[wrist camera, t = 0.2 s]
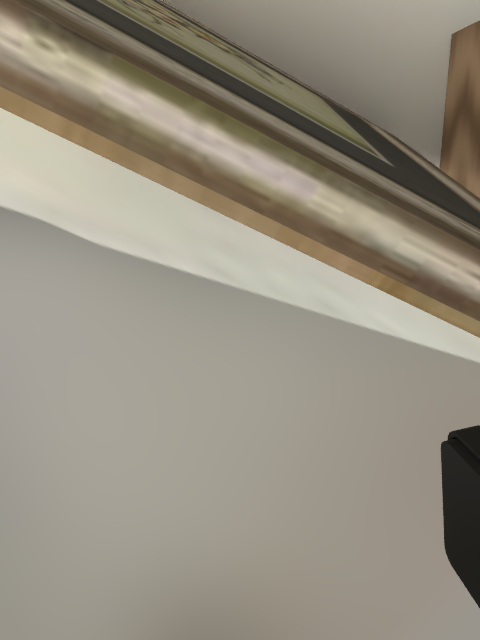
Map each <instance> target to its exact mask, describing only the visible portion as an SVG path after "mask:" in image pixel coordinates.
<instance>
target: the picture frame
mask: <svg viewBox="0 0 480 640" xmlns="http://www.w3.org/2000/svg"><path fill="white" fill-rule="evenodd" d="M0 108H2V109H5V110H7V111H9V112H11V113H13V114H15V115H17V116H19V117H21V118H23V119H25V120H27V121H30V122H32V123H34V124H36V125H38V126H40V127H42V128H44V129H46V130H48V131H50V132H52V133H55V134H57V135H59V136H61V137H63V138H65V139H67V140H69V141H71V142H73V143H75V144H77V145H80V146H82V147H84V148H86V149H88V150H90V151H92V152H94V153H96V154H98V155H100V156H102V157H105V158H107V159H109V160H111V161H113V162H115V163H117V164H119V165H121V166H123V167H125V168H127V169H129V170H132V171H134V172H136V173H138V174H140V175H142V176H144V177H146V178H148V179H150V180H152V181H154V182H157V183H159V184H161V185H163V186H165V187H167V188H169V189H171V190H173V191H175V192H177V193H179V194H182V195H184V196H186V197H188V198H190V199H192V200H194V201H196V202H198V203H200V204H202V205H204V206H207V207H209V208H211V209H213V210H215V211H217V212H219V213H221V214H223V215H225V216H227V217H229V218H232V219H234V220H236V221H238V222H240V223H242V224H244V225H246V226H248V227H250V228H252V229H254V230H257V231H259V232H261V233H263V234H265V235H267V236H269V237H271V238H273V239H275V240H277V241H279V242H282V243H284V244H286V245H288V246H290V247H292V248H294V249H296V250H298V251H300V252H302V253H304V254H307V255H309V256H311V257H313V258H315V259H317V260H319V261H321V262H323V263H325V264H327V265H329V266H332V267H334V268H336V269H338V270H340V271H342V272H344V273H346V274H348V275H350V276H352V277H354V278H357V279H359V280H361V281H363V282H365V283H367V284H369V285H371V286H373V287H375V288H377V289H379V290H382V291H384V292H386V293H388V294H390V295H392V296H394V297H396V298H398V299H400V300H402V301H404V302H407V303H409V304H411V305H413V306H415V307H417V308H419V309H421V310H423V311H425V312H427V313H429V314H432V315H434V316H436V317H438V318H440V319H442V320H444V321H446V322H448V323H450V324H452V325H454V326H456V327H459V328H461V329H463V330H465V331H467V332H469V333H471V334H473V335H475V336H477V337H479V338H480V198H479V197H477V196H476V195H475V194H473V193H472V192H471V191H469V190H468V189H466V188H465V187H464V186H462V185H461V184H460V183H458V182H457V181H455V180H454V179H453V178H451V177H450V176H449V175H447V174H446V173H444V172H443V171H442V170H440V169H439V168H438V167H436V166H435V165H433V164H432V163H431V162H429V161H428V160H427V159H425V158H424V157H422V156H421V155H420V154H418V153H417V152H416V151H414V150H413V149H411V148H410V147H409V146H407V145H406V144H405V143H403V142H402V141H400V140H399V139H398V138H396V137H395V136H393V135H391V134H390V133H388V132H386V131H384V130H383V129H381V128H379V127H378V126H376V125H374V124H372V123H371V122H369V121H367V120H365V119H364V118H362V117H360V116H359V115H357V114H355V113H353V112H352V111H350V110H348V109H346V108H345V107H343V106H341V105H340V104H338V103H336V102H334V101H333V100H331V99H329V98H327V97H326V96H324V95H322V94H321V93H319V92H317V91H315V90H314V89H312V88H310V87H309V86H307V85H305V84H303V83H302V82H300V81H298V80H296V79H295V78H293V77H291V76H290V75H288V74H286V73H284V72H283V71H281V70H279V69H277V68H276V67H274V66H272V65H271V64H269V63H267V62H265V61H264V60H262V59H260V58H258V57H257V56H255V55H253V54H252V53H250V52H248V51H246V50H245V49H243V48H241V47H239V46H238V45H236V44H234V43H233V42H231V41H229V40H227V39H226V38H224V37H222V36H220V35H219V34H217V33H215V32H214V31H212V30H210V29H208V28H207V27H205V26H203V25H201V24H200V23H198V22H196V21H195V20H193V19H191V18H189V17H188V16H186V15H184V14H182V13H181V12H179V11H177V10H176V9H174V8H172V7H170V6H169V5H167V4H165V3H164V2H162V1H160V0H0Z"/></svg>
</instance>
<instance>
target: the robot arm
mask: <svg viewBox="0 0 480 640" xmlns="http://www.w3.org/2000/svg"><path fill="white" fill-rule="evenodd" d="M441 462H442V488H443V489H442V490H443V515H444V543H445V550H446V554H447V556H448V559H449V561H450V563H451V565H452V567H453V568H454V570H455V572H456V573H457V575H458V576H459V578H460V579H461V581H462V582H463V583H464V585H465V587H466V588H467V590H468V591H469V593H470V594H471V596H472V597H473V599H474V600H475V602H476V603H477V605H478V606H479V608H480V426H479V425H478V426H474V427H469V428H465V429H461V430H456V431H452V432H450V433H449V435H448V440H447V441H444V442H442V444H441Z"/></svg>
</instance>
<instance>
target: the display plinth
mask: <svg viewBox="0 0 480 640" xmlns="http://www.w3.org/2000/svg"><path fill="white" fill-rule="evenodd" d="M440 170H442V171H443V172H444V173H446V174H447V175H449V176H450V177H451V178H453V179H454V180H455V181H457V182H458V183H460V184H461V185H462V186H464V187H465V188H466V189H468V190H469V191H471V192H472V193H473V194H475V195H476V196H477V197H479V198H480V21H478V22H476V23H474V24H472V25H470V26H468V27H466V28H464V29H462V30H460V31H458V32H456V33H454V34H452V39H451V50H450V61H449V72H448V83H447V94H446V105H445V117H444V128H443V139H442V150H441V161H440Z"/></svg>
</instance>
